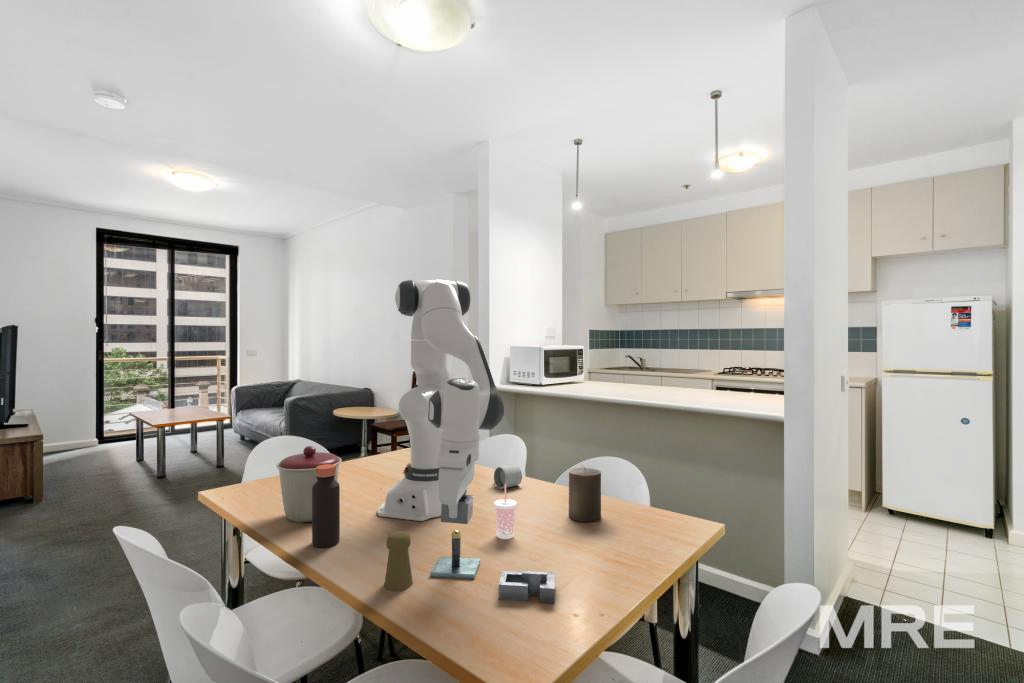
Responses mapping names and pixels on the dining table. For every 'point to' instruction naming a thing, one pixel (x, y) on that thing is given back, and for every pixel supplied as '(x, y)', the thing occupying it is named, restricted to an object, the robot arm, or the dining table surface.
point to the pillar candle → (585, 494)
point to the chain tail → (527, 585)
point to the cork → (398, 562)
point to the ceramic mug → (507, 476)
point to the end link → (459, 511)
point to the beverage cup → (505, 517)
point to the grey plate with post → (455, 562)
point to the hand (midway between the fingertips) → (457, 511)
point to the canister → (302, 481)
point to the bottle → (325, 508)
